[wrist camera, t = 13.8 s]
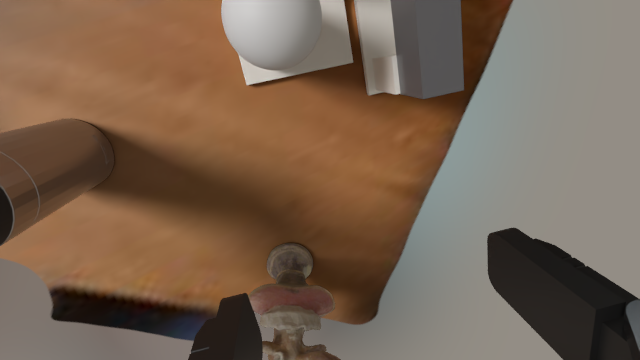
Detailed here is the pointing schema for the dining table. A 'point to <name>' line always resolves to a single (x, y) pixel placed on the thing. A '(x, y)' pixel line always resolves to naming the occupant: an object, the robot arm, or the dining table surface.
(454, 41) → the gray bar
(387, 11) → the display stand
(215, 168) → the dining table surface
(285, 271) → the decorative bust
